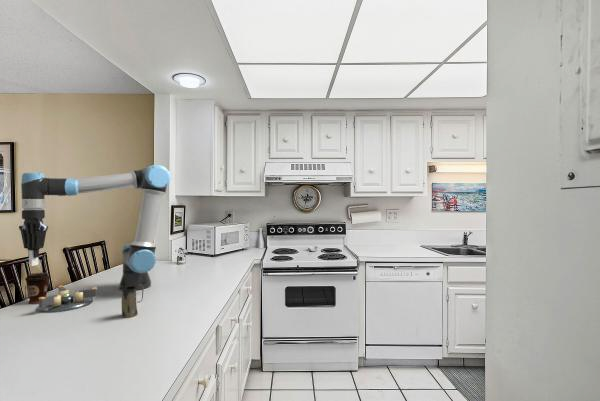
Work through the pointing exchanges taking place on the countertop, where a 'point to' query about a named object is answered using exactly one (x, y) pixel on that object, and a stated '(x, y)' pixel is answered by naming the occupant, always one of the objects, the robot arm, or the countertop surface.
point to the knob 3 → (85, 294)
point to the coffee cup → (36, 286)
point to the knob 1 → (50, 301)
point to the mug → (129, 301)
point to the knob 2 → (62, 290)
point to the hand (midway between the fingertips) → (33, 265)
